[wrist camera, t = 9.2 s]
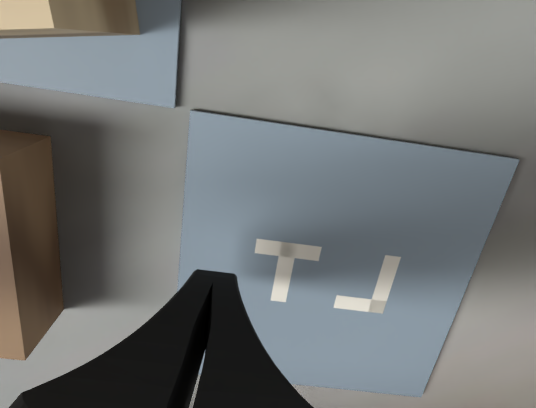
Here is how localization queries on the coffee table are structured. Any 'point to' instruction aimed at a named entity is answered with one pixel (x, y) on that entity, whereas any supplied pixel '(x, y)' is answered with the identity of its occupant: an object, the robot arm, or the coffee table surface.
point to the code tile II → (104, 60)
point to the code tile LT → (339, 243)
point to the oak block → (67, 18)
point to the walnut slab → (27, 243)
